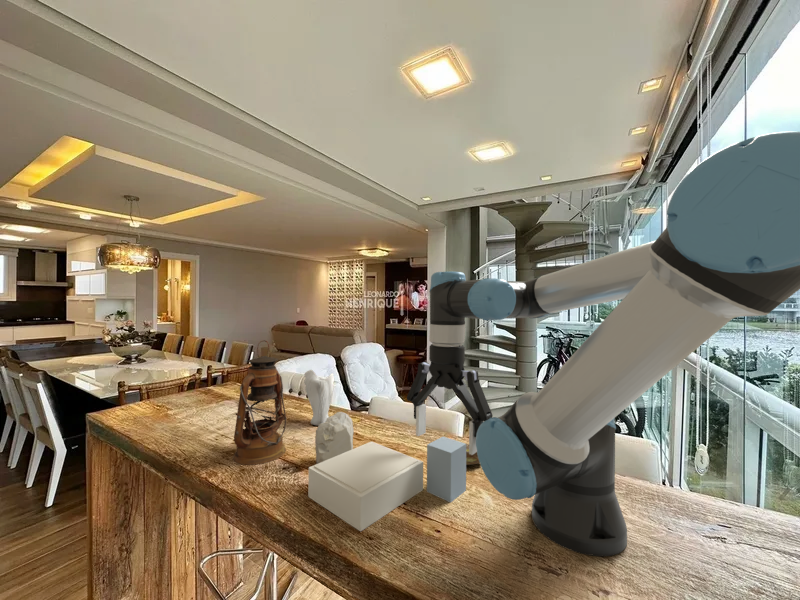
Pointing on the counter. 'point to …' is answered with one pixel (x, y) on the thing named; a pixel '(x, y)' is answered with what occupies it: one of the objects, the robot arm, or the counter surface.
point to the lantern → (261, 435)
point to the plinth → (365, 483)
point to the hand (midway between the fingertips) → (445, 442)
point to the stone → (334, 437)
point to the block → (446, 468)
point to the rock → (471, 457)
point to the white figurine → (319, 395)
